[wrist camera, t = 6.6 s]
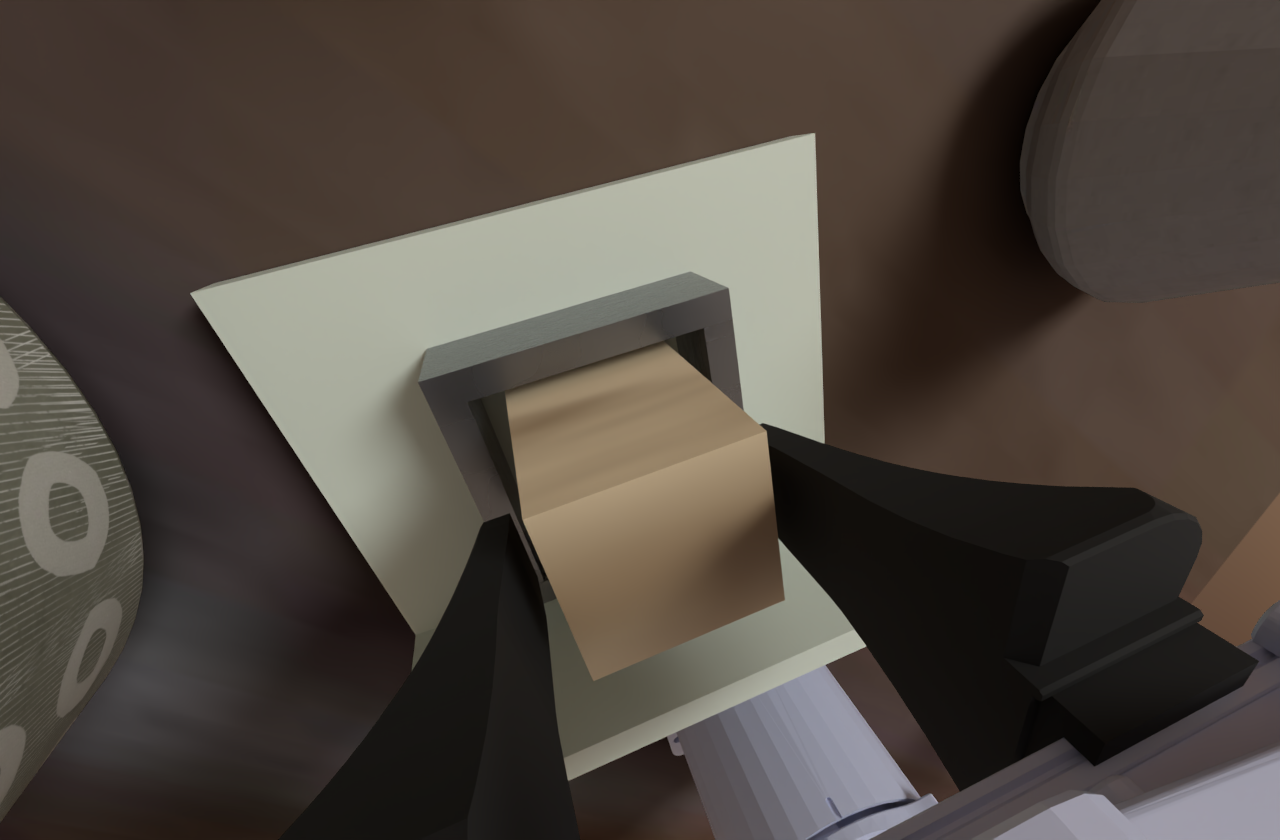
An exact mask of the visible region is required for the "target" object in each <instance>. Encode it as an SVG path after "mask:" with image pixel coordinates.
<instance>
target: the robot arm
mask: <svg viewBox="0 0 1280 840" xmlns="http://www.w3.org/2000/svg"><path fill="white" fill-rule="evenodd" d="M759 425H760V426H761V427H763V428H764V429H765V430H766V431H767V440H768V449H769V458H770V467H771V476H772V486H773V495H774V504H775V513H776V522H777V531H778V538H779V540H780V541H781V542H782V543H783V544H784V545H785V547H786V548H787V549H788V550H789V551H790V552H791V553H792V555H793V556H794V557H795V558H796V559H797V560H798V561H799V562H800V564H801V565H802V566H803V567H804V568H805V569H806V570H807V571H808V573H809V574H810V575H811V576H812V577H813V578H814V579H815V581H816V582H817V583H818V584H819V585H820V586H821V587H822V588H823V590H824V591H825V592H826V593H827V594H828V595H829V596H830V598H831V599H832V600H833V601H834V603H835V604H836V605H837V606H838V608H839V609H840V610H841V611H842V613H843V614H844V615H845V617H846V618H847V620H848V621H849V622H850V624H851V625H852V627H853V628H854V629H855V631H856V632H857V634H858V635H859V636H860V638H861V639H862V641H863V642H864V643H865V645H866V646H867V648H868V649H869V651H870V652H871V653H872V655H873V656H874V658H875V659H876V661H877V662H878V664H879V665H880V667H881V668H882V670H883V671H884V672H885V674H886V675H887V677H888V678H889V680H890V681H891V683H892V684H893V686H894V687H895V689H896V690H897V692H898V693H899V695H900V696H901V698H902V699H903V701H904V703H905V704H906V706H907V707H908V709H909V710H910V712H911V713H912V715H913V716H914V718H915V719H916V721H917V723H918V724H919V726H920V727H921V729H922V730H923V732H924V733H925V735H926V737H927V738H928V740H929V742H930V743H931V745H932V746H933V748H934V750H935V751H936V753H937V755H938V756H939V758H940V759H941V761H942V763H943V764H944V766H945V768H946V769H947V771H948V772H949V774H950V776H951V777H952V779H953V781H954V782H955V784H956V785H957V787H958V789H959V791H960V792H959V793H957V794H955V795H953V796H951V797H949V798H947V799H945V800H943V801H941V802H940V803H938V802H937V800H936V799H935V798H934V796H933V795H932V794H930V793H929V794H926V795H925V796H923V797H920V796H919V794H918V793H917V792H916V790H915V789H914V787H913V786H912V785H911V783H910V782H909V780H908V779H907V778H906V776H905V775H904V774H903V772H902V771H901V769H900V768H899V767H898V765H897V764H896V762H895V761H894V760H893V758H892V757H891V756H890V754H889V753H888V751H887V750H886V749H885V747H884V746H883V744H882V743H881V742H880V740H879V739H878V738H877V736H876V735H875V733H874V732H873V731H872V729H871V728H870V726H869V725H868V724H867V722H866V721H865V720H864V718H863V717H862V715H861V714H860V713H859V711H858V710H857V708H856V707H855V706H854V704H853V703H852V702H851V700H850V699H849V697H848V696H847V695H846V693H845V692H844V690H843V689H842V688H841V686H840V685H839V684H838V682H837V681H836V679H835V678H834V677H833V675H832V674H831V672H830V671H829V670H828V668H827V667H826V666H825V665H824V666H822V667H819V668H817V669H815V670H813V671H811V672H808V673H806V674H804V675H802V676H799V677H797V678H795V679H793V680H791V681H788V682H786V683H784V684H782V685H780V686H777V687H775V688H773V689H771V690H768V691H766V692H764V693H762V694H760V695H757V696H755V697H753V698H751V699H749V700H746V701H744V702H742V703H740V704H737V705H735V706H733V707H731V708H729V709H726V710H724V711H722V712H720V713H718V714H715V715H713V716H711V717H709V718H706V719H704V720H702V721H700V722H698V723H695V724H693V725H691V726H689V727H687V728H684V729H682V730H680V731H678V732H676V733H673V734H671V735H669V736H667V738H668V741H669V744H670V747H671V750H672V753H673V754H674V755H676V756H680V755H683V754H684V755H685V758H686V760H687V763H688V766H689V768H690V771H691V774H692V777H693V779H694V782H695V785H696V787H697V790H698V793H699V796H700V798H701V801H702V804H703V807H704V809H705V812H706V815H707V817H708V820H709V823H710V826H711V828H712V831H713V834H714V837H715V839H716V840H1280V600H1279V601H1278V602H1277V603H1275V604H1273V605H1272V606H1271V607H1270V608H1269V609H1268V610H1267V611H1266V612H1265V613H1264V614H1263V615H1262V617H1261V618H1260V619H1259V621H1258V622H1257V624H1256V625H1255V627H1254V629H1253V631H1252V634H1251V636H1252V639H1251V640H1249V641H1247V642H1245V643H1243V644H1241V645H1239V646H1237V647H1236V646H1234V645H1232V644H1231V643H1229V642H1227V641H1226V640H1224V639H1223V638H1221V637H1219V636H1218V635H1216V634H1214V633H1213V632H1211V631H1210V630H1208V629H1206V628H1205V627H1203V626H1201V625H1200V624H1198V623H1197V622H1199V621H1201V620H1202V617H1203V616H1204V615H1203V614H1202V612H1201V610H1200V609H1198V608H1197V607H1195V606H1193V605H1191V604H1190V603H1188V602H1186V601H1185V600H1183V599H1181V598H1180V597H1178V596H1179V594H1180V592H1181V590H1182V588H1183V585H1184V583H1185V581H1186V579H1187V577H1188V575H1189V573H1190V571H1191V568H1192V566H1193V564H1194V562H1195V560H1196V558H1197V555H1198V552H1199V549H1200V546H1201V544H1202V530H1201V527H1200V525H1199V523H1198V521H1197V519H1196V517H1194V516H1192V515H1190V514H1188V513H1186V512H1184V511H1182V510H1180V509H1178V508H1176V507H1174V506H1172V505H1170V504H1168V503H1165V502H1163V501H1161V500H1159V499H1157V498H1155V497H1153V496H1151V495H1149V494H1147V493H1145V492H1143V491H1141V490H1138V489H1136V488H1115V487H1063V486H1046V485H1032V484H1018V483H1007V482H997V481H988V480H981V479H973V478H966V477H958V476H952V475H946V474H940V473H934V472H929V471H924V470H919V469H914V468H909V467H905V466H900V465H896V464H892V463H888V462H884V461H880V460H876V459H873V458H869V457H866V456H862V455H858V454H855V453H852V452H849V451H845V450H842V449H839V448H836V447H833V446H830V445H827V444H824V443H821V442H818V441H815V440H812V439H809V438H806V437H804V436H801V435H798V434H795V433H792V432H789V431H786V430H783V429H781V428H778V427H775V426H771V425H768V424H764V423H762V424H759ZM278 840H580V836H579V832H578V827H577V822H576V817H575V812H574V807H573V803H572V798H571V793H570V788H569V783H568V778H567V773H566V768H565V763H564V757H563V752H562V747H561V742H560V737H559V731H558V724H557V717H556V709H555V698H554V688H553V677H552V667H551V656H550V646H549V636H548V626H547V617H546V612H545V607H544V603H543V598H542V594H541V589H540V585H539V580H538V576H537V574H536V572H535V570H534V567H533V565H532V563H531V560H530V558H529V556H528V554H527V551H526V549H525V547H524V544H523V542H522V540H521V538H520V535H519V533H518V531H517V528H516V526H515V524H514V522H513V519H512V517H511V515H510V513H509V514H506V515H503V516H500V517H497V518H495V519H492V520H489V521H486V522H483V524H482V526H481V527H480V530H479V532H478V535H477V538H476V540H475V543H474V546H473V548H472V551H471V554H470V556H469V559H468V561H467V564H466V566H465V568H464V571H463V573H462V575H461V578H460V580H459V582H458V584H457V587H456V589H455V591H454V594H453V596H452V598H451V600H450V602H449V604H448V606H447V608H446V610H445V612H444V614H443V616H442V618H441V620H440V622H439V624H438V626H437V628H436V630H435V632H434V634H433V636H432V637H431V639H430V641H429V643H428V645H427V646H426V648H425V650H424V652H423V653H422V655H421V657H420V658H419V660H418V662H417V663H416V665H415V667H414V668H413V670H412V672H411V673H410V675H409V676H408V678H407V680H406V681H405V683H404V684H403V686H402V687H401V689H400V690H399V691H398V693H397V694H396V696H395V697H394V698H393V700H392V701H391V703H390V704H389V705H388V707H387V708H386V710H385V711H384V712H383V714H382V715H381V717H380V718H379V719H378V721H377V722H376V724H375V725H374V726H373V728H372V729H371V731H370V732H369V733H368V735H367V736H366V737H365V739H364V740H363V741H362V742H361V744H360V745H359V746H358V747H357V749H356V750H355V751H354V752H353V754H352V755H351V756H350V758H349V759H348V760H347V761H346V763H345V764H344V765H343V766H342V767H341V769H340V770H339V771H338V772H337V773H336V775H335V776H334V777H333V778H332V779H331V781H330V782H329V783H328V784H327V785H326V787H325V788H324V789H323V790H322V791H321V793H320V794H319V795H318V796H317V797H316V798H315V800H314V801H313V802H312V803H311V804H310V805H309V806H308V808H307V809H306V810H305V811H304V812H303V813H302V814H301V815H300V816H299V817H298V819H297V820H296V821H295V822H294V823H293V824H292V825H291V826H290V827H289V828H288V829H287V831H286V832H285V833H284V834H283V835H282V836H281V837H280V838H279V839H278Z"/></svg>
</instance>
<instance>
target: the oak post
mask: <svg viewBox="0 0 1280 840" xmlns="http://www.w3.org/2000/svg"><path fill="white" fill-rule="evenodd" d="M505 397H506V404H507V411H508V419H509V426H510V433H511V440H512V448H513V455H514V462H515V469H516V476H517V484H518V491H519V498H520V505H521V513H522V520H523V522H524V524H525V527H526V529H527V531H528V534H529V536H530V538H531V540H532V543H533V545H534V547H535V550H536V552H537V554H538V556H539V559H540V561H541V563H542V565H543V568H544V570H545V572H546V575H547V577H548V579H549V581H550V584H551V586H552V588H553V591H554V593H555V595H556V597H557V600H558V602H559V604H560V607H561V609H562V611H563V613H564V616H565V618H566V620H567V622H568V625H569V627H570V629H571V632H572V634H573V636H574V638H575V641H576V643H577V645H578V648H579V650H580V652H581V654H582V657H583V659H584V661H585V664H586V666H587V668H588V670H589V673H590V675H591V677H592V679H593V681H595V680H598V679H600V678H602V677H605V676H607V675H609V674H612V673H614V672H616V671H619V670H621V669H624V668H626V667H628V666H631V665H633V664H635V663H638V662H640V661H642V660H645V659H647V658H649V657H652V656H654V655H657V654H659V653H661V652H664V651H666V650H668V649H671V648H673V647H675V646H678V645H680V644H682V643H685V642H687V641H690V640H692V639H694V638H697V637H699V636H701V635H704V634H706V633H708V632H711V631H713V630H715V629H718V628H720V627H723V626H725V625H727V624H730V623H732V622H734V621H737V620H739V619H741V618H744V617H746V616H748V615H751V614H753V613H756V612H758V611H760V610H763V609H765V608H767V607H770V606H772V605H774V604H777V603H779V602H782V601H784V600H785V596H784V587H783V577H782V568H781V559H780V550H779V541H778V531H777V522H776V513H775V504H774V495H773V486H772V476H771V467H770V458H769V449H768V440H767V431H766V430H765V429H764V428H763V427H761V426H760V425H759V424H758V423H757V422H756V421H755V420H753V419H752V418H751V417H750V416H749V415H748V414H747V413H745V412H744V411H743V410H742V409H741V408H740V407H739V406H737V405H736V404H735V403H734V402H733V401H732V400H731V399H729V398H728V397H727V396H726V395H725V394H724V393H723V392H721V391H720V390H719V389H718V388H717V387H716V386H715V385H713V384H712V383H711V382H710V381H709V380H708V379H707V378H705V377H704V376H703V375H702V374H701V373H700V372H699V371H697V370H696V369H695V368H694V367H693V366H692V365H691V364H689V363H688V362H687V361H686V360H685V359H684V358H683V357H681V356H680V355H679V354H678V353H677V352H676V351H675V350H673V349H672V348H671V347H670V346H669V345H668V344H667V343H665V342H664V341H661V342H657V343H654V344H651V345H648V346H645V347H642V348H638V349H635V350H632V351H629V352H626V353H623V354H619V355H616V356H613V357H610V358H607V359H603V360H600V361H597V362H594V363H591V364H588V365H584V366H581V367H578V368H575V369H572V370H568V371H565V372H562V373H559V374H556V375H553V376H549V377H546V378H543V379H540V380H537V381H533V382H530V383H527V384H524V385H521V386H518V387H514V388H511V389H508V390H505Z"/></svg>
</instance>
